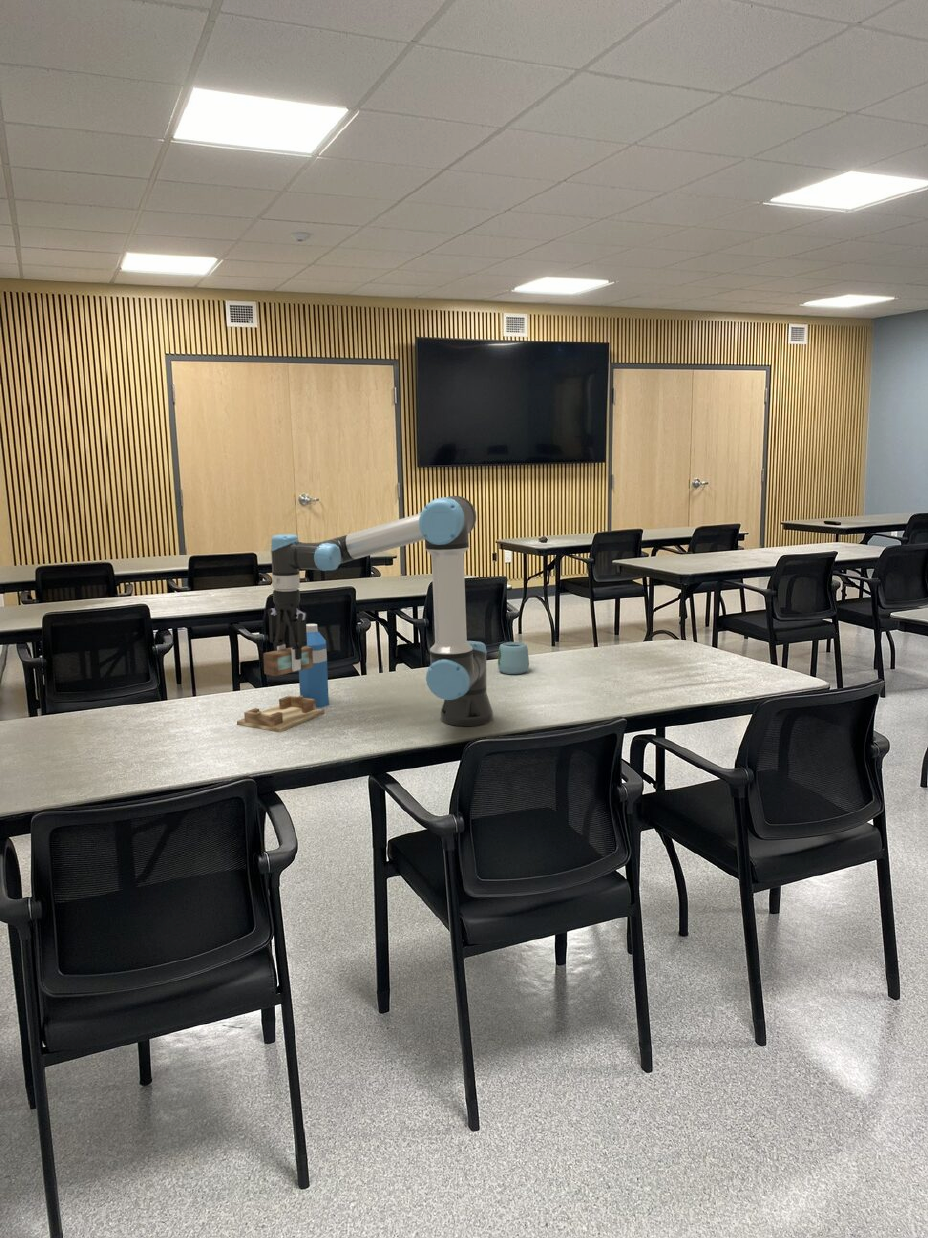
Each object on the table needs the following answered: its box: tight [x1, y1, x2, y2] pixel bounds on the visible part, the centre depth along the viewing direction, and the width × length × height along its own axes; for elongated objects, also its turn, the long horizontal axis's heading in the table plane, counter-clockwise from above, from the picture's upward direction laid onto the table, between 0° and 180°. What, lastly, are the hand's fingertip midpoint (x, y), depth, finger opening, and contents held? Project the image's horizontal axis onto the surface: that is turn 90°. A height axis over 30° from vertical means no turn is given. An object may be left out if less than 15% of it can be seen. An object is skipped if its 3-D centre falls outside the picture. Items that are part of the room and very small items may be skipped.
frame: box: [262, 646, 313, 677], centre depth 259 cm, size 14×5×6 cm, turn 138°
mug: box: [497, 641, 530, 675], centre depth 317 cm, size 15×11×10 cm
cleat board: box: [236, 694, 325, 733], centre depth 263 cm, size 16×20×5 cm
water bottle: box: [297, 623, 330, 709], centre depth 277 cm, size 9×9×25 cm
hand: (289, 668), depth 259 cm, fingers closed on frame, 5 cm apart
